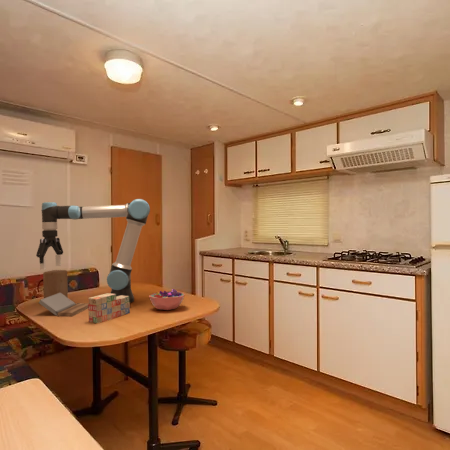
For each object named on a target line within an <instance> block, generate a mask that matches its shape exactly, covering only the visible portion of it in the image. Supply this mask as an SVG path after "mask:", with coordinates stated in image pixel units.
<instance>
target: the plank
mask: <svg viewBox="0 0 450 450" xmlns="http://www.w3.org/2000/svg"><path fill="white" fill-rule="evenodd" d="M38 304H39V305H41V306H42V307H43V308H45V309H46V310H48V312H50V313H52V314H53V315H54V316H57V317H58V312H60V311H62V310H64V309H66V308H69V307H71V306H73V305H75V304H77V303H76V302H74V301H73V300H72V299H70V298H69V297H68V298H67V297H66V296H65V295H63V294H62V293H58V294H55V295H52V296H49V297H47V298H44V297H43V298H42V299H40V300H39V302H38Z"/></svg>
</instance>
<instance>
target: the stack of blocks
mask: <svg viewBox="0 0 450 450" xmlns="http://www.w3.org/2000/svg"><path fill="white" fill-rule="evenodd" d="M87 303H89V304H88V309H87V310H88V322H89V323H94V324H96V323H98V324H100V322H101V323H104V322H107V321H110V320H113V319H115V318H119V317H121V316H125V315H128V314H130V312H131V309H130V307H131V305H130V303H131V302H129V296H123V295H120V296H116V294H111V292H107V293H104V294H98V295H95V296H91V297H88V301H87Z"/></svg>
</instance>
